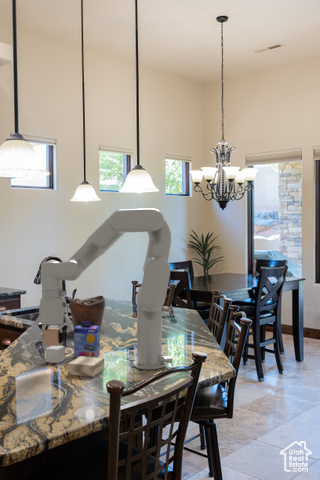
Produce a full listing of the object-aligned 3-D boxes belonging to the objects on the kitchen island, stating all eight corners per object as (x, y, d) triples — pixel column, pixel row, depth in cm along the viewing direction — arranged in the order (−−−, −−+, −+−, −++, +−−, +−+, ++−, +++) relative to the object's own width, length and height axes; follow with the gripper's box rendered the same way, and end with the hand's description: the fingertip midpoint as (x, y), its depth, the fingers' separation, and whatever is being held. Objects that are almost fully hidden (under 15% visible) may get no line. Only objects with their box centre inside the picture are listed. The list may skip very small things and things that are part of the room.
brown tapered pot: (60, 333, 242) (60, 297, 241) (84, 326, 260) (84, 293, 259) (89, 337, 234) (89, 300, 233) (111, 330, 251) (112, 295, 251)
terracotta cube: (64, 342, 183) (63, 328, 182) (57, 346, 177) (56, 331, 177) (51, 341, 184) (50, 327, 184) (43, 345, 179) (43, 330, 179)
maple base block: (104, 368, 180) (104, 358, 180) (93, 376, 171) (93, 365, 171) (79, 366, 183) (79, 356, 183) (67, 374, 174) (67, 363, 174)
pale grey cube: (64, 359, 194) (64, 346, 193) (58, 363, 188) (58, 349, 188) (52, 358, 195) (52, 345, 195) (45, 362, 190) (45, 348, 190)
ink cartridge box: (73, 357, 196) (73, 322, 196) (76, 354, 202) (76, 319, 202) (97, 358, 196) (97, 322, 195) (99, 354, 201) (99, 320, 201)
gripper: (77, 293, 181) (79, 340, 182) (37, 292, 186) (38, 339, 187) (68, 295, 174) (70, 345, 175) (26, 295, 179) (28, 343, 179)
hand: (54, 341), depth 181 cm, fingers closed on terracotta cube, 5 cm apart
